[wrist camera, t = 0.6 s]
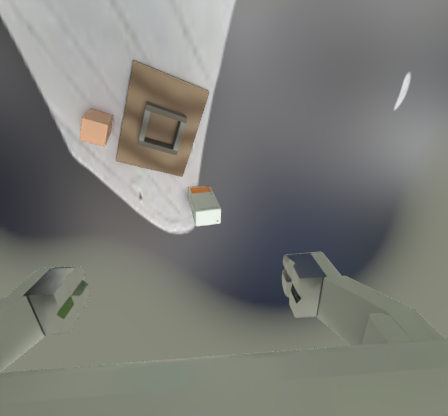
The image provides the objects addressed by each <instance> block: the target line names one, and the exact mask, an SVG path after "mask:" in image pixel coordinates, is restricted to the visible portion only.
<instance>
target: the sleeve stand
mask: <svg viewBox="0 0 448 416" xmlns="http://www.w3.org/2000/svg"><path fill="white" fill-rule="evenodd" d="M208 95H209V91H208V90H205V89H203V88H200V87H198V86H195V85H193V84H191V83H188V82H186V81H183V80H181V79H178V78H176V77H174V76H171V75H169V74H166V73H164V72H161V71H159V70H157V69H154V68H152V67H149V66H147V65H144V64H142V63H140V62H137V61H135V60H134V61H133V66H132V72H131V78H130V84H129V89H128V95H127V101H126V106H125V112H124V118H123V123H122V129H121V135H120V140H119V146H118V152H117V158H116V161H117V162H122V163H126V164H130V165H134V166H139V167H143V168H147V169H151V170H156V171H160V172H164V173H168V174H173V175H177V176H181V177H182V176H183V173H184V170H185V167H186V164H187V161H188V158H189V154H190V151H191V148H192V145H193V142H194V139H195V136H196V133H197V129H198V126H199V123H200V120H201V117H202V114H203V111H204V108H205V104H206V101H207V98H208Z"/></svg>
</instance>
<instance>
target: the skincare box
mask: <svg viewBox="0 0 448 416" xmlns="http://www.w3.org/2000/svg"><path fill="white" fill-rule="evenodd" d="M188 190H189V203H190V207H191V210H192V214H193V218H194V221H195V226H202V225H211V224H217V223H221V208H220V206H219V204H218V202H217V199H216V197H215V195H214V193H213V190H212V188H211V186H199V187H188Z"/></svg>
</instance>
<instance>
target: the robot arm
mask: <svg viewBox="0 0 448 416" xmlns="http://www.w3.org/2000/svg"><path fill="white" fill-rule="evenodd" d="M283 264H284V267H285V270H284V271H283V272H282V284H283V289H284V292H285V295H286V296H287V297H289V298H290V301H289V304H290V307H291V309H292V311H293V314H294V316H295V317H313V316H317V318H319V319H320V320H321V321H322V322H323V323H324V324H325V325H327V326H328V327H329V328H330V329H331V330H333V331H334V332H335V333H336V334H337V335H339V336H340V337H341V338H342V339H343V340H344V341H346V342H347V343H348V344H349V345H350V346H340V347H327V348H314V349H302V350H291V351H290V350H289V351H278V352H264V353H250V354H236V355H223V356H210V357H196V358H184V359H171V360H159V361H145V362H132V363H119V364H106V365H94V366H80V367H69V368H68V367H67V368H54V369H41V370H28V371H15V372H3V373H1V372H2V371H3V370H4V369H5V368H7V367H8V366H9V365H10V364H12V363H13V362H14V361H15V360H16V359H17V358H19V357H20V356H21V355H23V354H24V353H25V352H26V351H28V350H29V349H30V348H31V347H32V346H34V345H35V344H36V343H37V342H38V341H40V340H41V339H42V338H44V336H46V335H56V334H66V333H69V332H70V331H71V329H72V328H73V326H74V324H75V323H76V321H77V320H78V313H79V312H80V311H82V310H83V309H84V308H85V307H86V305H87V304H88V301H89V297H90V289H89V285H88V284H87V283H86V282H85V281H84V280H83V279H84V277H85V273H84V270H83V268H81V267H80V266H77V267H54V268H51V267H50V268H40V269H37V270H36V271H34V272H33V273H32V274H31V275H30V276H29V277H28V278H27V279H26V280H24V281H23V282H22V283H21V284H20V285H19V286H18V287H17V288H16V289H15V290H14V291H12V293H10V294H9V295H8V296H7V297H4V298H0V416H448V338H444V337H443V336H442V335H441V334H440V333H439V332H438V331H436V329H435V328H434V327H432V326H431V325H430V324H429V323H428V322H427V321H426V320H425V319H424V318H423V317H422V316H421V315H420V314H419V313H418V312H417V311H416V310H414V309H412V308H410V307H408V306H406V305H404V304H402V303H400V302H398V301H396V300H394V299H391V298H390V297H387V296H386V295H384V294H382V293H380V292H378V291H375V290H373V289H371V288H369V287H367V286H365V285H363V284H361V283H359V282H357V281H355V280H353V279H351V278H348V277H347V276H341V275H340V273H339V272H338V271H337V270H336V268H335V267H334V266H333V265H332V264H331V262H330V261H329V260H328V259H327V257H326V256H325V255H324V254H323V253H322V252H311V253H302V254H290V255H289V254H288V255H284V258H283Z"/></svg>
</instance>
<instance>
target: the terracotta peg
mask: <svg viewBox="0 0 448 416" xmlns="http://www.w3.org/2000/svg"><path fill="white" fill-rule="evenodd" d="M112 119H113V115H110V114H107V113H104V112H101V111H97V110H94V109H90V110H89V111H88V112H87V113H86V114H85V115H84V116H83V117H82V123H81V133H80V140H81V141H85V142H89V143H93V144H96V145H100V146H104V147H105V145H106V143H107V140H108V138H109V136H110V132H111V125H112Z"/></svg>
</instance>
